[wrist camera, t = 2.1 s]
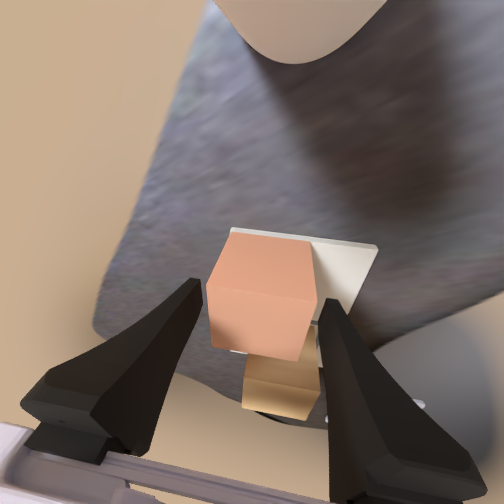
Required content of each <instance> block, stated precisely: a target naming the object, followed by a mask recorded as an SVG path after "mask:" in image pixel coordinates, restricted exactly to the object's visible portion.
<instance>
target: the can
mask: <svg viewBox="0 0 504 504" xmlns="http://www.w3.org/2000/svg"><path fill="white" fill-rule="evenodd" d="M213 1H214V2H215V3H216V5H217V6H218V7H219V9H220V10H221V11H222V12H223V14H224V15H225V16H226V17H227V19H228V20H229V21H230V23H231V24H232V25H233V26H234V28H235V29H236V30H237V31H238V33H239V34H240V35H241V36H242V37H243V38H244V40H245V41H246V42H247V43H248V44H249V45H250V46H251V47H252V48H254V49H255V50H256V51H257V52H259V53H260V54H262V55H263V56H265V57H267V58H269V59H271V60H274V61H277V62H281V63H286V64H301V63H307V62H311V61H314V60H317V59H320V58H322V57H324V56H326V55H328V54H330V53H331V52H333V51H335V50H336V49H338V48H339V47H340V46H342V45H343V44H344V43H345V42H347V41H348V40H349V39H350V38H351V37H352V36H353V35H354V34H355V33H357V32H358V31H359V30H360V29H361V28H362V27H363V26H364V25H365V24H366V22H367V21H368V20H369V19H370V18H371V17H372V16H373V15H374V14H375V13H376V12H377V11H378V10H379V9H380V8H381V7H382V6H383V5H384V3H385V2H386V1H387V0H213Z"/></svg>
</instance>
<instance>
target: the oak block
mask: <svg viewBox="0 0 504 504" xmlns="http://www.w3.org/2000/svg"><path fill="white" fill-rule="evenodd" d="M320 392H321V390H320V380H319V370H318V360H317V349H316V339H315V329H314V326H309V329H308V332H307V335H306V338H305V341H304V344H303V347H302V350H301V353H300V356H299V359H298V362H295V361H289V360H284V359H278V358H272V357H267V356H261V355H256V354H250V353H248V356H247V362H246V367H245V373H244V381H243V396H242V408H246V409H250V410H255V411H260V412H265V413H270V414H275V415H280V416H285V417H290V418H295V419H300V420H306V418H307V416H308V415H309V413H310V411H311V409H312V407H313V405H314V404H315V402H316V400H317V398H318V396H319V394H320Z"/></svg>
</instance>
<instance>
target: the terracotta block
mask: <svg viewBox="0 0 504 504" xmlns="http://www.w3.org/2000/svg"><path fill="white" fill-rule="evenodd" d="M206 289H207V299H208V310H209V320H210V331H211V342H212V347H216V348H222V349H227V350H233V351H239V352H244V353H250V354H256V355H261V356H267V357H272V358H278V359H284V360H289V361H295V362H298V359H299V356H300V353H301V350H302V347H303V344H304V341H305V338H306V335H307V332H308V329H309V326H310V323H311V320H312V317H313V314H314V311H315V308H316V305H317V302H318V301H317V293H316V285H315V277H314V269H313V261H312V253H311V245H310V241H302V240H294V239H286V238H278V237H270V236H262V235H255V234H247V233H239V232H231V234H230V236H229V238H228V240H227V242H226V244H225V246H224V248H223V250H222V253H221V255H220V257H219V259H218V261H217V263H216V265H215V267H214V269H213V272H212V274H211V276H210V278H209V280H208V282H207V284H206Z"/></svg>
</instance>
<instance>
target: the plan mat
mask: <svg viewBox="0 0 504 504" xmlns="http://www.w3.org/2000/svg"><path fill="white" fill-rule="evenodd" d="M231 232H239V233H247V234H255V235H262V236H270V237H278V238H286V239H294V240H302V241H310V245H311V253H312V261H313V269H314V277H315V285H316V293H317V301H318V302H317V305H316V308H315V311H314V314H313V317H312V320H311V323H310V326H314V329H315V339H316V349H317V360H318V367H323V366H322V359H321V353H320V346H319V340H318V319H319V316H320V314H321V311H322V308H323V306H324V303H325V300H326V298H332V299H338V300H339V302H340V304H341V305H342V307H343V309H344V310H345V312H346V314H347V315H348V313H349V311H350V309H351V307H352V305H353V303H354V301H355V298H356V296H357V294H358V292H359V290H360V288H361V286H362V284H363V282H364V280H365V278H366V275H367V273H368V271H369V269H370V267H371V265H372V263H373V261H374V259H375V257H376V255H377V252H378V248H377V246H376V245H373V244H365V243H357V242H349V241H341V240H333V239H325V238H317V237H309V236H300V235H292V234H284V233H276V232H268V231H260V230H252V229H244V228H236V227H232V228H231V230H230V234H231ZM231 351H233V350H231ZM233 352H239V351H233ZM239 353H244V352H239ZM244 354H248V353H244Z"/></svg>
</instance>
